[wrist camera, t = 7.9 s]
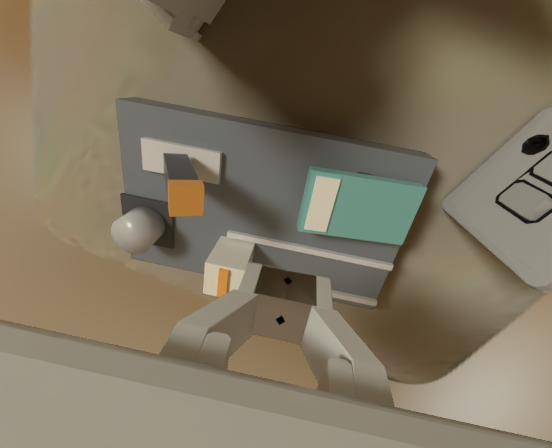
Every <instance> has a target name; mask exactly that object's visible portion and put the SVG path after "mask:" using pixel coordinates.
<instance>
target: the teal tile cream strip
mask: <svg viewBox="0 0 552 448" xmlns="http://www.w3.org/2000/svg"><path fill="white" fill-rule="evenodd" d="M426 191H427V187H425V186H424V185H422V184H421V183H417V182H410V181H404V180H397V179H391V178H385V177H378V176H372V175H366V174H359V173H353V172H347V171H340V170H334V169H327V168H321V167H315V166H310V167H309V172H308V176H307V180H306V185H305V189H304V194H303V198H302V203H301V207H300V212H299V216H298V221H297V230H298V231H300V232H307V233H315V234H322V235H329V236H337V237H344V238H352V239H359V240H367V241H374V242H381V243H389V244H396V245H402V244H403V242H404V240H405V238H406V236H407V233H408V231H409V229H410V227H411V224H412V222H413V220H414V218H415V215H416V213H417V211H418V209H419V206H420V204H421V202H422V200H423V197H424V195H425V193H426Z"/></svg>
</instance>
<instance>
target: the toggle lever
mask: <svg viewBox="0 0 552 448" xmlns="http://www.w3.org/2000/svg"><path fill="white" fill-rule="evenodd" d="M163 159H164V178H165V183H166V188H167V194H168V210H169V216H170V217H176V216H202V215H203V209H204V184H203V182H202V180H199V179H198V177H197V174H196V172H195V170H194V168H193V166H192V164H191V161H190V159H189V157H188V155H187V154H173V153H163Z"/></svg>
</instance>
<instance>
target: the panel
mask: <svg viewBox="0 0 552 448" xmlns="http://www.w3.org/2000/svg"><path fill="white" fill-rule="evenodd" d="M115 100H116V110H117V120H118V130H119V140H120V149H121V159H122V169H123V179H124V189H125V193H121V194H120V195H121V204H122V213H123V215H125V214H126V213H128V212H129V211H131V210H132V209H134V208H135V207H137V206H148V207H150V208H153V209H154V210H156V211H157V212H158V213H159V214H160V215H161V216H162V218H163V220H164V222H165V231H164V233H163V235H162V236H161V237H160V238H159V239H158V240H157V241H156V242H155V243H154V244H153V245H152V246H151V247H150V248H149V249H148V250H147V251H146V252H144V253H141V254H133V253H131V258H132V259H136V260H141V261H145V262H150V263H155V264H159V265H164V266H169V267H174V268H178V269H183V270H188V271H193V272H197V273H202V274H204V268H205V261H206V260H207V258H208V256H209V255H210V253H211V251H212V250H213V248H214V247H215V245H216V243H217V242H218V240H219V238H220V237H221V236H224V237H229V238H234V239H238V240H243V241H248V242H253V243H255V247H254V253H253V260H252V262H255V263H260V264H262V265H263V264H265V265H269V266H273V267H278V268H282V269H286V270H290V271H295V272H300V273H304V274H309V275H314V276H316V275H317V276H323V277H328V278H330V279H331V289H332V301H335V302H340V303H344V304H349V305H354V306H359V307H363V308H368V309H373V306H376V305H377V297H378V295H379V293H380V291H381V288H382V286H383V284H384V281H385V279H386V277H387V275H388V272H389V271H392V269H393V267H394V266H393V261H394V259H395V257H396V254H397V252H398V250H399V248H400V245H396V244H389V243H381V242H374V241H367V240H359V239H352V238H344V237H337V236H329V235H322V234H315V233H307V232H300V231H298V230H297V221H298V216H299V212H300V207H301V203H302V198H303V194H304V189H305V185H306V180H307V176H308V172H309V167H310V166H315V167H321V168H327V169H334V170H340V171H347V172H353V173H359V174H366V175H372V176H378V177H385V178H391V179H397V180H404V181H410V182H417V183H421V184H422V185H424V186H425V187H427V184H428V182H429V180H430V178H431V175H432V173H433V171H434V169H435V166H436V164H437V162H438V160H437V159H435V158H434V157H432V156H430V155H429V154H427V153H425V152H421V151H415V150H410V149H405V148H400V147H394V146H389V145H384V144H379V143H373V142H368V141H363V140H358V139H352V138H347V137H342V136H337V135H331V134H326V133H321V132H315V131H310V130H305V129H300V128H294V127H289V126H284V125H279V124H273V123H268V122H263V121H258V120H252V119H247V118H242V117H237V116H231V115H226V114H221V113H216V112H210V111H205V110H200V109H195V108H189V107H184V106H179V105H174V104H168V103H163V102H158V101H153V100H147V99H142V98H137V97H132V98H118V99H115ZM163 153H173V154H187V155H188V157H189V159H190V161H191V164H192V166H193V168H194V170H195V172H196V174H197V177H198V179H199V180H202V182H203V184H204V209H203V215H202V216H176V217H170V216H169V210H168V194H167V188H166V183H165V178H164V159H163Z"/></svg>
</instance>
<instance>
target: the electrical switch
mask: <svg viewBox="0 0 552 448" xmlns="http://www.w3.org/2000/svg"><path fill="white" fill-rule="evenodd" d="M442 208H443V209H444V210H445V211H446V212H447V213H448V214H449V215H450V216H451V217H452V218H453V219H454V220H455V221H456V222H458V223H459V224H460V225H461V226H462V227H463V228H464V229H466V230H467V231H468V232H469V233H470V234H471V235H472V236H474V237H475V238H476V239H477V240H478V241H479V242H480V243H481V244H483V245H484V246H485V247H486V248H487V249H488V250H489V251H491V252H492V253H493V254H494V255H495V256H496V257H497V258H498V259H500V260H501V261H502V262H503V263H504V264H505V265H506V266H508V267H509V268H510V269H511V270H512V271H513V272H514V273H515V274H516V275H517V276H519V277H520V278H521V279H522V280H523V281H524V282H525V283H526V284H527V285H529V286H530V287H531V288H533V289H535V290H537V291H541V292H544V293H549V292H552V107H549V108H546V109H544V110H542V111H541V112H539V113H538V114H537V115H536V116H535V117H534V118H533V119H532V120H530V121H529V122H528V123H527V124H526V125H525V126H524V127H523V128H522V129H521V130H519V131H518V132H517V133H516V134H515V135H514V136H513V137H512V138H511V139H510V140H509V141H507V142H506V143H505V144H504V145H503V146H502V147H501V148H500V149H499V150H498V151H496V152H495V153H494V154H493V155H492V156H491V157H490V158H489V159H488V160H487V161H485V162H484V163H483V164H482V165H481V166H480V167H479V168H478V169H477V170H476V171H474V172H473V173H472V174H471V175H470V176H469V177H468V178H467V179H466V180H465V181H464V182H462V183H461V184H460V185H459V186H458V187H457V188H456V189H455V190H454V191H453V192H451V193H450V194H449V195H448V196H447V197H446V198H445V199H444V200H443V205H442Z"/></svg>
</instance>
